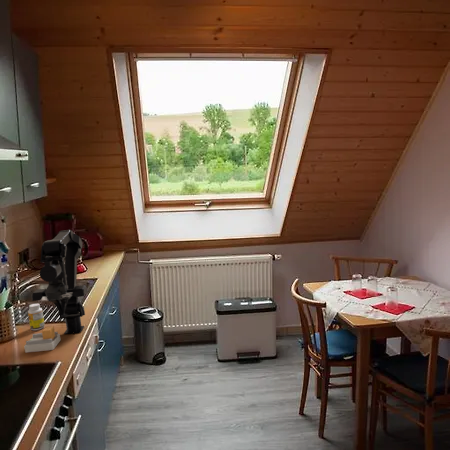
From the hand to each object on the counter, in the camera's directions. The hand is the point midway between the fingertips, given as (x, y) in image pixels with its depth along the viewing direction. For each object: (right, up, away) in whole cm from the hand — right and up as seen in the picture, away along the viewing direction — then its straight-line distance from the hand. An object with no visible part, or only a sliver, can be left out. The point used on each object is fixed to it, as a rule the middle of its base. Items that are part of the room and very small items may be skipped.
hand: (62, 315), depth 164 cm
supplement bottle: (-18, -10, +20) cm, 29 cm away
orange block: (-5, -9, +1) cm, 10 cm away
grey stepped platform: (-8, -12, +1) cm, 14 cm away
